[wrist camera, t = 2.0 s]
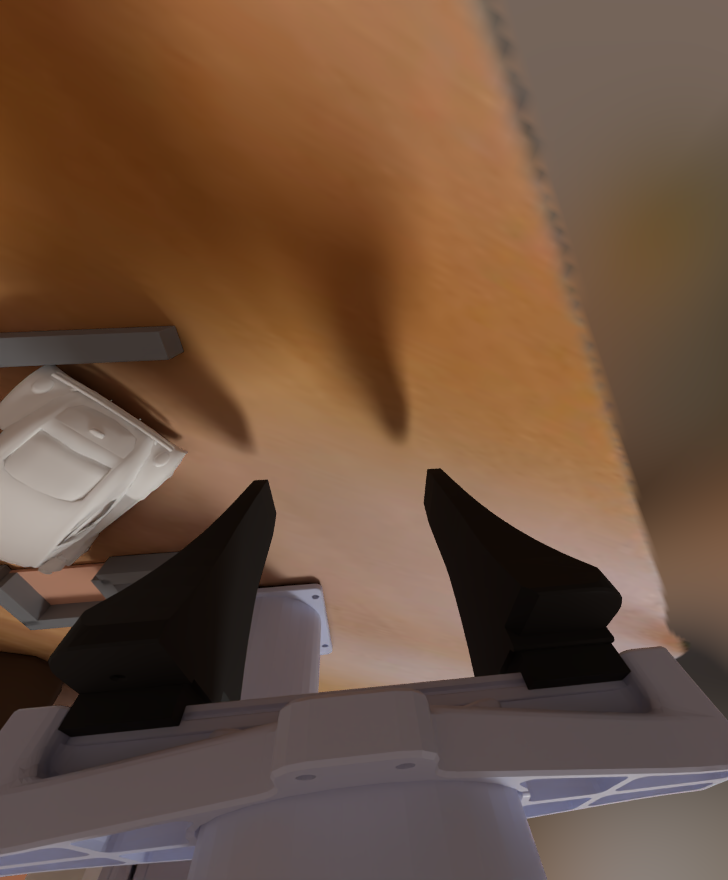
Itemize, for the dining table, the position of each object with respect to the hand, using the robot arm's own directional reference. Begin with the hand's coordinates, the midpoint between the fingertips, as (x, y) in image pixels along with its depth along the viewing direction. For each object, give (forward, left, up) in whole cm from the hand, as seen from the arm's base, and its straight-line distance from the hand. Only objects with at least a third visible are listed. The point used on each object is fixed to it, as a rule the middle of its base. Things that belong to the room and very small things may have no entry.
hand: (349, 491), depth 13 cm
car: (0, +14, -3) cm, 14 cm away
